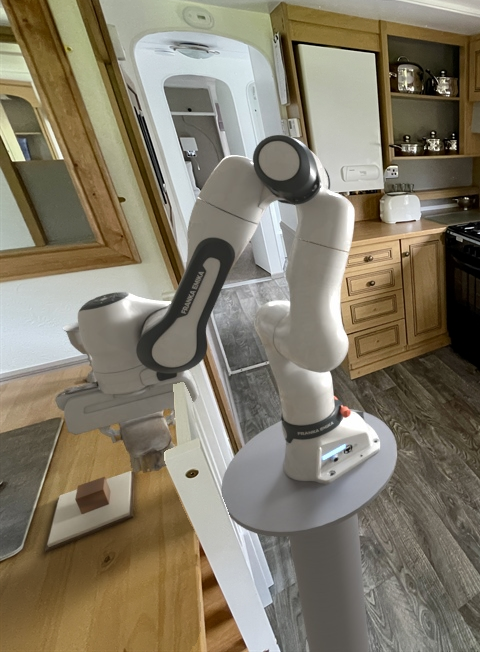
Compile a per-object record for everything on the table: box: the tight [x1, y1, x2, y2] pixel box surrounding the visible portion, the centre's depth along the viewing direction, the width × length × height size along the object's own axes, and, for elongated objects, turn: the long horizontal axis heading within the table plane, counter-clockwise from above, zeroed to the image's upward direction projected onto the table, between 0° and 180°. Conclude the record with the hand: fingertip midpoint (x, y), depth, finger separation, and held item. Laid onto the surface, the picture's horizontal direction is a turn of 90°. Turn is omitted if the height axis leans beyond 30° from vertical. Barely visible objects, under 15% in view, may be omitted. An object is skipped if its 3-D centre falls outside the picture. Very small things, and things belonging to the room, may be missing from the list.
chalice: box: [62, 321, 97, 383], centre depth 115 cm, size 7×7×18 cm
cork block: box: [75, 476, 111, 514], centre depth 75 cm, size 4×4×4 cm
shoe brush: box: [118, 410, 176, 474], centre depth 78 cm, size 24×8×5 cm, turn 46°
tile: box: [44, 470, 136, 553], centre depth 76 cm, size 12×14×1 cm
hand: (146, 431), depth 78 cm, fingers closed on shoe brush, 7 cm apart
